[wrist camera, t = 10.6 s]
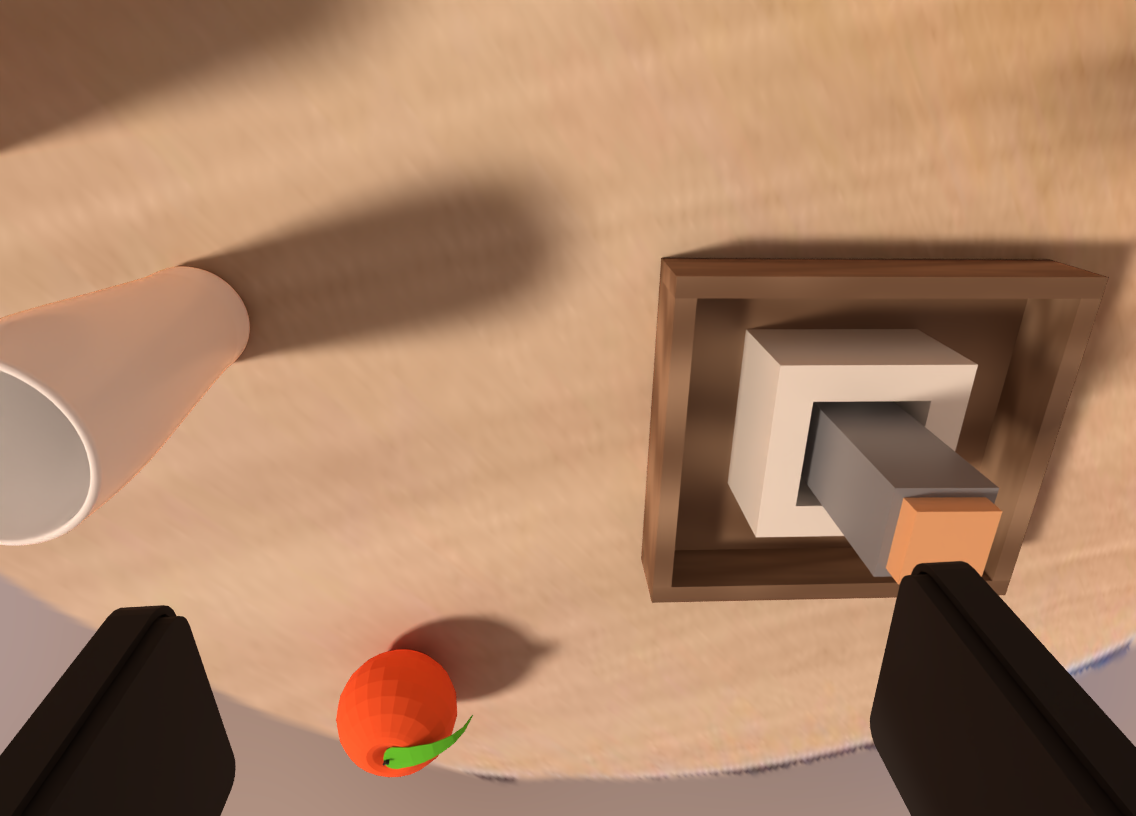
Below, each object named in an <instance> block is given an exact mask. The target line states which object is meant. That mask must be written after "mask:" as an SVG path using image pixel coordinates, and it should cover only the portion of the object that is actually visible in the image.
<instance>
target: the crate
mask: <svg viewBox="0 0 1136 816" xmlns="http://www.w3.org/2000/svg"><path fill="white" fill-rule="evenodd" d="M1108 278H1109V277H1106V276H1102V275H1099V274H1096V273H1092V272H1089V271H1086V270H1082V269H1079V268H1076V267H1072V266H1069V265H1066V264H1063V263H1059V262H1056V261H1053V260H1033V259H756V258H661V271H660V286H659V301H658V316H657V331H656V346H655V361H654V376H653V391H652V406H651V421H650V436H649V451H648V466H647V481H646V496H645V511H644V526H643V541H642V556H641V560H642V564H643V568H644V572H645V576H646V580H647V584H648V588H649V593H650V597H651V601H652V603H654V602H701V601H748V600H795V599H842V598H889V597H897V595H898V590H899V586H900V584H897V582H896V581H895V580H894V578H893V577H874V576H873V575H872V573H871V572H870V571H869V569H868V568H867V567H866V565H865V564H864V562H863V561H862V560H861V558H860V557H859V556H858V554H857V553H856V551H855V550H854V549H853V547H852V546H851V545H850V543H849V542H848V540H847V539H846V538H845V536H806V537H755V535H754V533H753V531H752V529H751V527H750V525H749V523H748V521H747V519H746V517H745V516H744V514H743V512H742V510H741V508H740V506H739V504H738V502H737V500H736V498H735V496H734V494H733V492H732V490H731V489H730V487H729V485H728V475H729V467H730V458H731V450H732V442H733V433H734V425H735V416H736V408H737V400H738V391H739V383H740V375H741V366H742V358H743V350H744V341H745V333H746V329H918V330H919V331H921V332H923V333H925V334H926V335H928V336H930V337H931V338H933V339H935V340H937V341H938V342H940V343H942V344H943V345H945V346H947V347H949V348H950V349H952V350H954V351H955V352H957V353H959V354H961V355H962V356H964V357H966V358H967V359H969V360H971V361H972V362H974V363H976V364H978V367H977V371H976V374H975V378H974V382H973V386H972V390H971V393H970V397H969V401H968V405H967V409H966V412H965V416H964V420H963V424H962V427H961V431H960V435H959V439H958V443H957V446H956V450H955V452H956V453H957V454H959V455H960V456H961V457H962V458H963V459H965V460H966V461H967V462H968V463H970V464H971V465H972V466H973V467H974V468H976V469H977V470H978V471H979V472H980V473H982V474H983V475H984V476H985V477H987V478H988V479H989V480H990V481H991V482H993V483H994V484H995V485H996V486H998V487H999V490H998V494H997V497H996V500H995V503H994V504H995V505H996V506H997V507H998V508H999V509H1000V510H1001V511H1003V512H1002V515H1001V518H1000V521H999V524H998V527H997V531H996V534H995V537H994V540H993V543H992V546H991V549H990V553H989V556H988V559H987V562H986V565H985V568H984V571H983V575H982V578H983V579H984V580H985V581H986V582H987V583H988V584H989V586H990V587H991V588H992V589H993V590H994V591H995V592H996V593H997V594H998V595H1005V594H1006V591H1007V588H1008V585H1009V582H1010V579H1011V576H1012V573H1013V570H1014V567H1015V564H1016V561H1017V558H1018V554H1019V551H1020V548H1021V545H1022V542H1023V539H1024V536H1025V533H1026V530H1027V527H1028V524H1029V521H1030V518H1031V515H1032V511H1033V508H1034V505H1035V502H1036V499H1037V496H1038V493H1039V490H1040V487H1041V484H1042V481H1043V478H1044V475H1045V472H1046V468H1047V465H1048V462H1049V459H1050V456H1051V453H1052V450H1053V447H1054V444H1055V441H1056V438H1057V435H1058V432H1059V429H1060V425H1061V422H1062V419H1063V416H1064V413H1065V410H1066V407H1067V404H1068V401H1069V398H1070V395H1071V392H1072V389H1073V386H1074V383H1075V379H1076V376H1077V373H1078V370H1079V367H1080V364H1081V361H1082V358H1083V355H1084V352H1085V349H1086V346H1087V343H1088V340H1089V336H1090V333H1091V330H1092V327H1093V324H1094V321H1095V318H1096V315H1097V312H1098V309H1099V306H1100V303H1101V300H1102V297H1103V293H1104V290H1105V287H1106V284H1107V281H1108Z"/></svg>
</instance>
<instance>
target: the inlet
mask: <svg viewBox="0 0 1136 816" xmlns="http://www.w3.org/2000/svg"><path fill="white" fill-rule="evenodd" d="M977 367H978V364H976V363H974V362H972V361H971V360H969V359H967V358H966V357H964V356H962V355H961V354H959V353H957V352H955V351H954V350H952V349H950V348H949V347H947V346H945V345H943V344H942V343H940V342H938V341H937V340H935V339H933V338H931V337H930V336H928V335H926V334H925V333H923V332H921V331H919V330H918V329H746V333H745V341H744V350H743V358H742V366H741V375H740V383H739V391H738V400H737V408H736V416H735V425H734V433H733V442H732V450H731V458H730V467H729V475H728V485H729V487H730V489H731V490H732V492H733V494H734V496H735V498H736V500H737V502H738V504H739V506H740V508H741V510H742V512H743V514H744V516H745V517H746V519H747V521H748V523H749V525H750V527H751V529H752V531H753V533H754V535H755V537H806V536H844V535H843V533H842V532H841V531H840V529H839V528H838V527H837V525H836V524H835V522H834V521H833V520H832V518H831V517H830V516H829V514H828V513H827V511H826V510H825V509H824V507H823V506H822V504H821V503H820V502H819V500H818V499H817V498H816V496H815V495H814V493H813V492H812V491H811V489H810V488H809V487H808V485H807V484H806V482H805V481H804V480H803V478H802V477H801V472H802V466H803V460H804V454H805V448H806V442H807V436H808V430H809V424H810V418H811V412H812V406H813V402H853V401H894V402H895V403H896V404H898V405H899V406H900V407H901V408H903V409H904V410H905V411H906V412H907V413H909V414H910V415H911V416H912V417H913V418H915V419H916V420H917V421H918V422H920V423H921V424H922V425H923V426H924V427H926V428H927V429H928V430H929V431H931V432H932V433H933V434H934V435H935V436H937V437H938V438H939V439H940V440H941V441H943V442H944V443H945V444H946V445H948V446H949V447H950V448H951V449H952V450H954V451H955V450H956V446H957V443H958V439H959V435H960V431H961V427H962V424H963V420H964V416H965V412H966V409H967V405H968V401H969V397H970V393H971V390H972V386H973V382H974V378H975V374H976V371H977Z"/></svg>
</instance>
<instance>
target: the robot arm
mask: <svg viewBox="0 0 1136 816" xmlns="http://www.w3.org/2000/svg"><path fill="white" fill-rule="evenodd" d="M870 729H871V734H872V738H873V741H874V744H875V746H876V748H877V750H878V752H879V754H880V756H881V758H882V760H883V762H884V764H885V766H886V768H887V770H888V772H889V774H890V776H891V777H892V779H893V781H894V783H895V785H896V787H897V789H898V791H899V793H900V795H901V797H902V799H903V801H904V803H905V804H906V806H907V808H908V810H909V812H910V814H911V816H1136V747H1135V746H1134V745H1133V744H1132V743H1131V741H1130V740H1129V739H1128V738H1127V737H1126V736H1125V735H1124V734H1123V733H1122V731H1121V730H1120V729H1119V728H1118V727H1117V726H1116V725H1115V724H1114V723H1113V722H1112V721H1111V719H1110V718H1109V717H1108V716H1107V715H1106V714H1105V713H1104V712H1103V710H1102V709H1101V708H1100V707H1099V706H1098V705H1097V704H1096V703H1095V702H1094V701H1093V699H1092V698H1091V697H1090V696H1089V695H1088V694H1087V693H1086V692H1085V691H1084V690H1083V688H1082V687H1081V686H1080V685H1079V684H1078V683H1077V682H1076V681H1075V680H1074V678H1073V677H1072V676H1071V675H1070V674H1069V673H1068V672H1067V671H1066V670H1065V668H1064V667H1063V666H1062V665H1061V664H1060V663H1059V662H1058V661H1057V660H1056V659H1055V657H1054V656H1053V655H1052V654H1051V653H1050V652H1049V651H1048V650H1047V649H1046V647H1045V646H1044V645H1043V644H1042V643H1041V642H1040V641H1039V640H1038V639H1037V638H1036V636H1035V635H1034V634H1033V633H1032V632H1031V631H1030V630H1029V629H1028V628H1027V626H1026V625H1025V624H1024V623H1023V622H1022V621H1021V620H1020V619H1019V618H1018V617H1017V615H1016V614H1015V613H1014V612H1013V611H1012V610H1011V609H1010V608H1009V607H1008V605H1007V604H1006V603H1005V602H1004V601H1003V600H1002V599H1001V598H1000V597H999V596H998V594H997V593H996V592H995V591H994V590H993V589H992V588H991V587H990V586H989V584H988V583H987V582H986V581H985V580H984V579H983V578H982V577H981V576H980V575H979V573H978V572H977V571H976V570H975V569H974V568H973V567H972V566H971V565H969V564H968V563H966V562H963V561H951V562H933V563H921V564H917V565H916V566H915V567H914V568H913V571H912V573H911V575H906V576H904V577H903V578H902V580H901V582H900V586H899V590H898V595H897V599H896V604H895V608H894V613H893V617H892V622H891V626H890V630H889V635H888V639H887V644H886V648H885V653H884V657H883V662H882V666H881V671H880V675H879V680H878V684H877V689H876V693H875V698H874V702H873V707H872V711H871V715H870ZM234 777H235V759H234V755H233V751H232V748H231V746H230V743H229V740H228V737H227V734H226V731H225V728H224V725H223V722H222V719H221V716H220V713H219V710H218V707H217V704H216V702H215V699H214V696H213V693H212V690H211V687H210V684H209V681H208V678H207V675H206V672H205V669H204V666H203V663H202V660H201V657H200V655H199V652H198V649H197V646H196V643H195V640H194V637H193V634H192V631H191V628H190V625H189V623H188V621H187V619H186V618H184V617H182V616H176V614H175V612H174V610H173V609H172V608H170V607H169V606H164V605H163V606H145V607H127V608H119V609H117V610H115V611H113V612H112V613H111V614H110V615H109V616H108V617H107V619H106V620H105V621H104V623H103V624H102V625H101V626H100V628H99V629H98V630H97V632H96V633H95V634H94V636H93V637H92V638H91V640H90V641H89V642H88V643H87V645H86V646H85V647H84V648H83V650H82V651H81V652H80V654H79V655H78V656H77V657H76V659H75V660H74V661H73V663H72V664H71V665H70V666H69V668H68V669H67V670H66V672H65V673H64V674H63V676H62V677H61V678H60V679H59V681H58V682H57V683H56V684H55V686H54V687H53V688H52V690H51V691H50V692H49V694H48V695H47V696H46V697H45V699H44V700H43V701H42V703H41V704H40V705H39V707H38V708H37V709H36V710H35V712H34V713H33V714H32V715H31V717H30V718H29V719H28V721H27V722H26V723H25V724H24V726H23V727H22V728H21V730H20V731H19V732H18V733H17V735H16V736H15V737H14V739H13V740H12V741H11V743H10V744H9V745H8V746H7V748H6V749H5V750H4V752H3V753H2V754H1V755H0V816H220V815H221V813H222V810H223V808H224V806H225V803H226V801H227V798H228V796H229V794H230V791H231V788H232V785H233V781H234Z"/></svg>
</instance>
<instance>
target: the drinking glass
mask: <svg viewBox="0 0 1136 816" xmlns="http://www.w3.org/2000/svg"><path fill="white" fill-rule="evenodd" d="M249 334H250V322H249V316H248V312H247V310H246V307H245V305H244V303H243V301H242V299H241V298H240V296H239V295H238V293H237V292H236V291H235V290H234V289H233V288H232V287H231V286H230V285H229V284H228V283H227V282H226V281H224V280H223V279H221V278H220V277H218V276H217V275H215V274H213V273H211V272H208V271H206V270H203V269H199V268H195V267H187V266H179V267H171V268H167V269H163V270H161V271H158V272H156V273H153V274H151V275H149V276H147V277H144V278H141V279H137V280H134V281H130V282H127V283H123V284H120V285H116V286H112V287H109V288H105V289H101V290H98V291H94V292H90V293H87V294H83V295H79V296H76V297H72V298H68V299H64V300H61V301H57V302H53V303H49V304H46V305H42V306H38V307H35V308H31V309H28V310H24V311H21V312H17V313H14V314H11V315H8V316H5V317H2V318H0V545H31V544H37V543H42V542H46V541H50V540H52V539H55V538H58V537H60V536H62V535H64V534H66V533H68V532H70V531H71V530H73V529H74V528H76V527H77V526H78V525H79V524H81V523H82V522H83V521H84V520H85V519H86V518H88V517H89V516H90V515H91V514H93V513H94V512H95V511H96V510H97V509H99V508H100V507H101V506H102V505H104V504H105V503H106V502H107V501H108V500H110V499H111V498H112V497H113V496H114V495H115V494H116V493H118V492H119V491H120V490H121V489H122V488H123V487H124V486H125V485H126V484H127V483H129V482H130V481H131V480H132V479H133V478H134V477H135V476H136V475H137V474H138V473H139V472H140V471H141V470H142V469H143V467H144V466H145V465H146V464H147V463H148V462H149V461H150V460H151V459H152V458H153V457H154V456H155V454H156V453H157V452H158V451H159V450H160V449H161V447H162V446H163V445H164V444H165V443H166V441H167V440H168V439H169V438H170V437H171V435H172V434H173V433H174V432H175V430H176V429H177V428H178V427H179V425H180V424H181V423H182V422H183V420H184V419H185V418H186V417H187V415H188V414H189V413H190V412H191V411H192V409H193V408H194V407H195V406H196V404H197V403H198V402H199V401H200V399H201V398H202V397H203V396H204V395H205V393H206V392H207V391H208V390H209V389H210V387H211V386H212V385H213V384H214V383H215V381H216V380H217V379H218V378H219V377H220V375H221V374H222V373H223V372H224V371H225V370H226V369H227V368H228V367H229V366H230V365H231V364H233V363H234V362H235V361H236V360H237V359H238V358H239V357H240V355H241V354H242V353H243V351H244V349H245V347H246V345H247V342H248V339H249Z"/></svg>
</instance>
